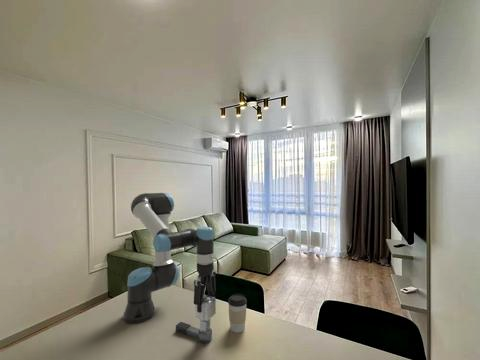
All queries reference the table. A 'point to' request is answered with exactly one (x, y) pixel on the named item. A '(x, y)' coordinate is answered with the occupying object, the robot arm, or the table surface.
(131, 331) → the table surface
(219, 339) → the table surface
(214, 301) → the socket
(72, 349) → the table surface
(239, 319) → the coffee cup
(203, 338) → the grey l-shaped piece
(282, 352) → the table surface
